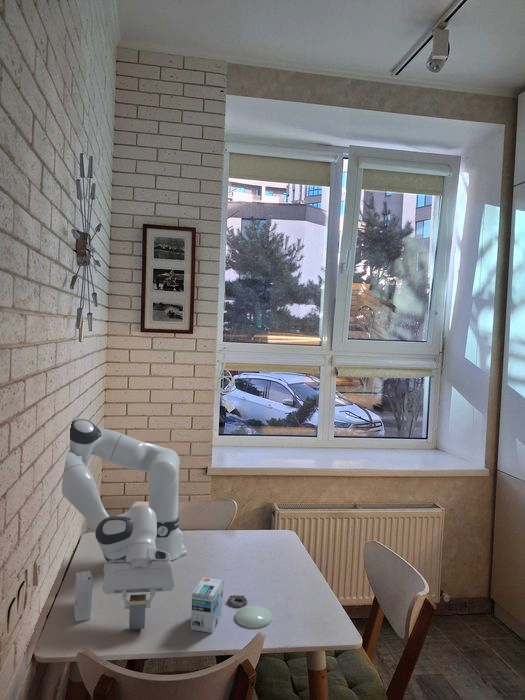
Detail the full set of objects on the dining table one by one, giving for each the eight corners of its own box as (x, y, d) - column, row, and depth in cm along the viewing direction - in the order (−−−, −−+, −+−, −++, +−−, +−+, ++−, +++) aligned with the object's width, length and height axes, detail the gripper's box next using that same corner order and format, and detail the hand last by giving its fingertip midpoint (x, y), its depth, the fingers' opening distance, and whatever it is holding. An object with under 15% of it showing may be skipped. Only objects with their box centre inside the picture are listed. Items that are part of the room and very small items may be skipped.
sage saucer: (233, 610, 163) (233, 606, 163) (268, 608, 165) (268, 604, 165) (237, 630, 152) (238, 626, 152) (275, 628, 154) (275, 624, 154)
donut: (253, 609, 165) (253, 602, 165) (229, 613, 162) (229, 607, 161) (243, 596, 172) (244, 590, 172) (221, 600, 169) (221, 594, 169)
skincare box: (73, 612, 158) (74, 572, 157) (89, 609, 160) (90, 569, 159) (75, 622, 152) (76, 581, 152) (91, 619, 154) (93, 578, 154)
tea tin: (129, 622, 151) (130, 594, 151) (145, 621, 152) (146, 594, 152) (128, 629, 148) (129, 601, 147) (144, 628, 148) (145, 600, 148)
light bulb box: (212, 634, 149) (214, 596, 149) (189, 630, 150) (191, 592, 150) (223, 614, 160) (224, 579, 159) (201, 611, 161) (202, 576, 161)
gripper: (103, 555, 154) (98, 606, 145) (175, 553, 158) (174, 602, 148) (105, 564, 159) (100, 613, 149) (174, 561, 162) (173, 609, 153)
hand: (137, 607), depth 149 cm, fingers closed on tea tin, 4 cm apart
